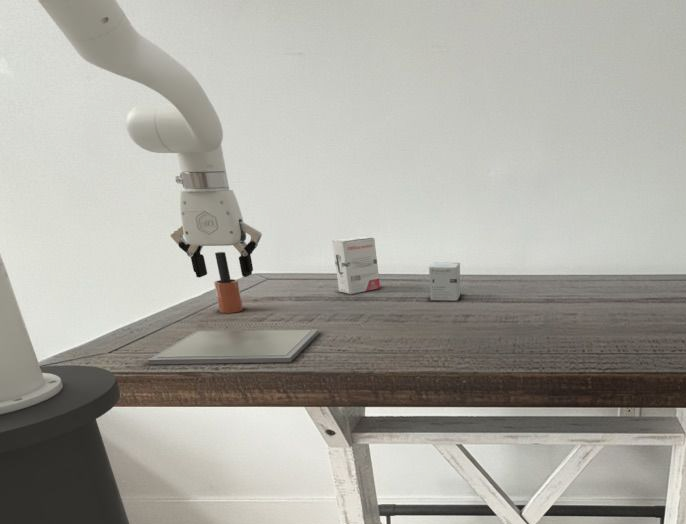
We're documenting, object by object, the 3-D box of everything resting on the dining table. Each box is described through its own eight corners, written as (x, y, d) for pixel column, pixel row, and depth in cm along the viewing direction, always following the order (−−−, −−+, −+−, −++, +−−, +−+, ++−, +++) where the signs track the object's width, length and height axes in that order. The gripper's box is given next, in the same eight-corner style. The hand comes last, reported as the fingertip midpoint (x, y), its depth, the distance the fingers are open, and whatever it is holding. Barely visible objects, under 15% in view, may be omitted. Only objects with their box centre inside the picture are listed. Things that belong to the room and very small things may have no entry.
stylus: (233, 308, 112) (222, 253, 108) (224, 308, 112) (213, 253, 108) (237, 306, 114) (226, 251, 110) (228, 306, 114) (217, 252, 109)
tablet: (290, 362, 84) (289, 356, 83) (149, 364, 83) (147, 358, 83) (318, 333, 98) (318, 328, 97) (197, 335, 97) (196, 330, 97)
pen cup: (238, 313, 111) (232, 283, 109) (216, 313, 111) (210, 283, 109) (246, 307, 115) (241, 279, 113) (225, 308, 115) (219, 279, 113)
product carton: (430, 300, 120) (428, 266, 117) (434, 294, 126) (432, 261, 123) (458, 301, 120) (456, 266, 117) (461, 294, 126) (460, 261, 123)
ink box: (368, 285, 135) (363, 235, 130) (380, 288, 132) (376, 237, 127) (337, 291, 129) (330, 239, 124) (349, 294, 126) (343, 241, 121)
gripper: (147, 183, 100) (170, 280, 107) (245, 183, 101) (261, 279, 107) (169, 182, 107) (189, 272, 114) (260, 181, 107) (275, 271, 114)
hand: (224, 275), depth 110 cm, fingers open, 8 cm apart
